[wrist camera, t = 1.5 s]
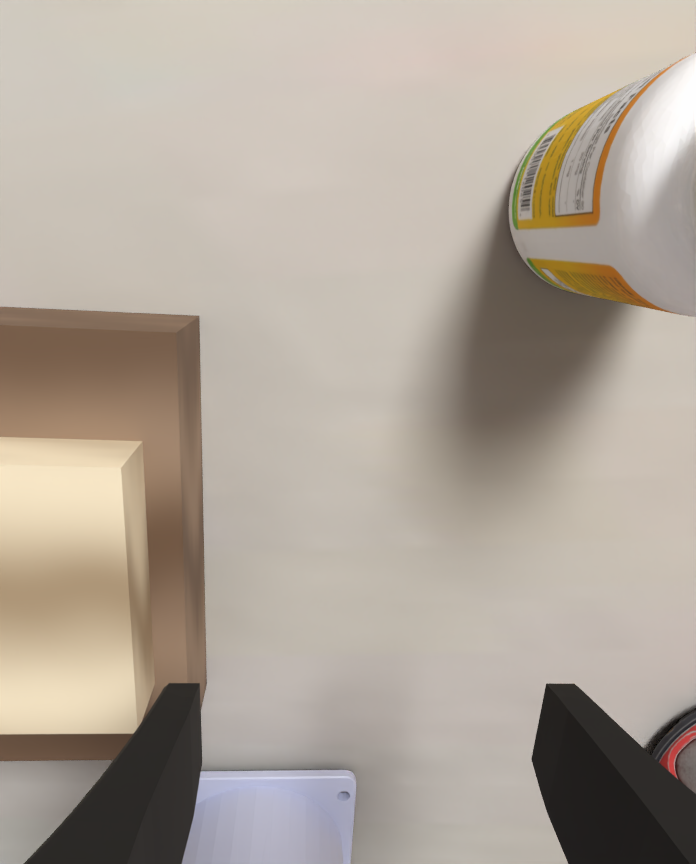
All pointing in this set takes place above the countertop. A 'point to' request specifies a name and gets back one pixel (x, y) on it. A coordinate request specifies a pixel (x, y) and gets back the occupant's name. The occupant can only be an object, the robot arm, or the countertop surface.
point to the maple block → (73, 587)
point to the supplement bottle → (616, 196)
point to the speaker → (680, 750)
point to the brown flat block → (162, 456)
